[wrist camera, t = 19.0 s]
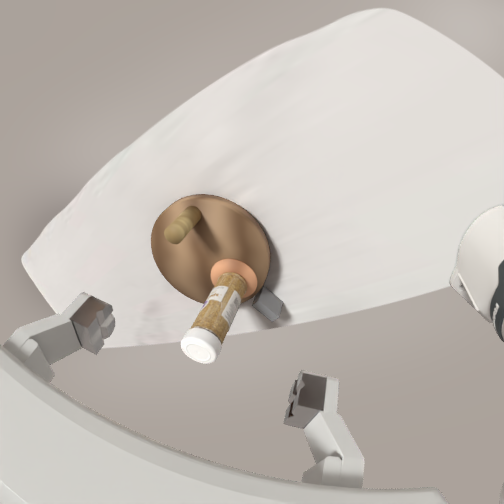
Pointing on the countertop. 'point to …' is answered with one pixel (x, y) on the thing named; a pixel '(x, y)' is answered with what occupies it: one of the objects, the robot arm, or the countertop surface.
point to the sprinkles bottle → (214, 319)
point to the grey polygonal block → (267, 304)
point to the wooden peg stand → (209, 245)
